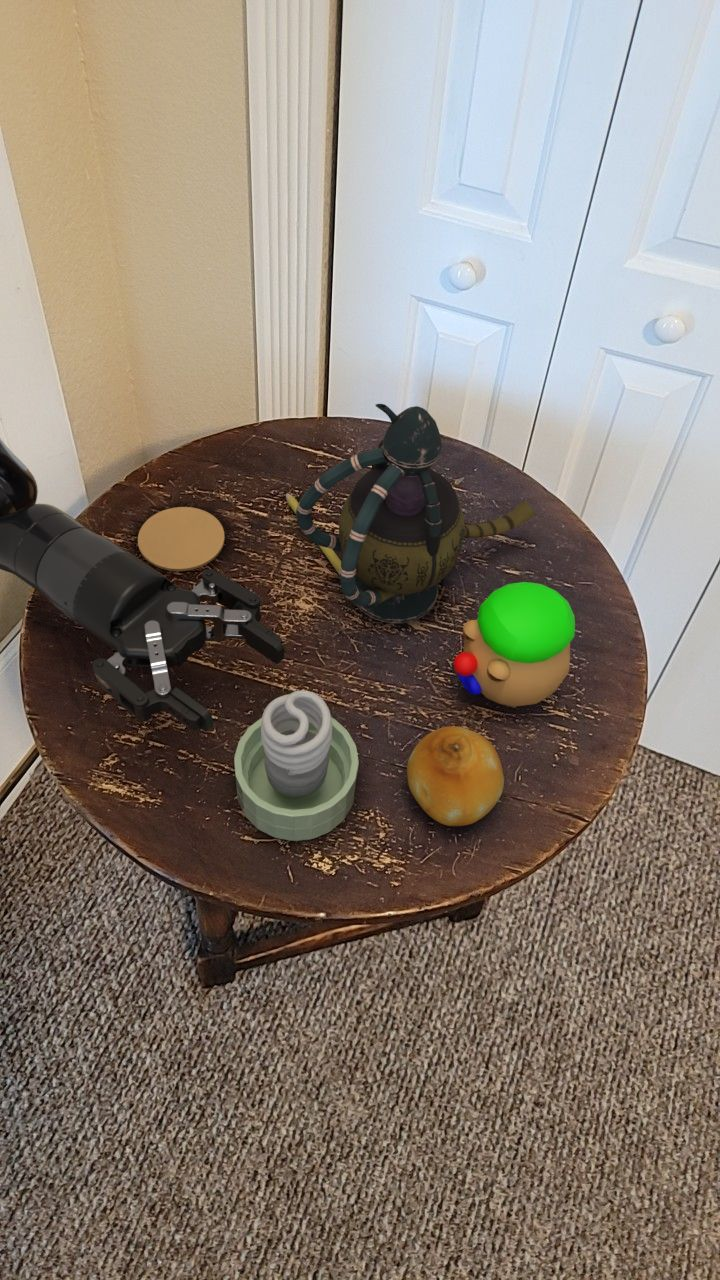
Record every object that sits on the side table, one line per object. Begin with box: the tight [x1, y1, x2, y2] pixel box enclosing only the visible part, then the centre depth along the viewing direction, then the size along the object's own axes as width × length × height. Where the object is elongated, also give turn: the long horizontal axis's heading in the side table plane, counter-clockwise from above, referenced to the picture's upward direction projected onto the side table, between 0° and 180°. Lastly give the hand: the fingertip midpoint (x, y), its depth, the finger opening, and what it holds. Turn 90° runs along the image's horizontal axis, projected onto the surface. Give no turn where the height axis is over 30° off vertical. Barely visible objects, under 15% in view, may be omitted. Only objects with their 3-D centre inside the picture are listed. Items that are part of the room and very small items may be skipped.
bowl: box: [233, 716, 360, 842], centre depth 79 cm, size 10×10×5 cm
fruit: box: [406, 725, 505, 827], centre depth 79 cm, size 8×8×8 cm
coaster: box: [137, 506, 226, 572], centre depth 98 cm, size 9×9×1 cm
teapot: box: [295, 403, 538, 624], centre depth 87 cm, size 12×25×23 cm, turn 118°
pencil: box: [284, 490, 342, 576], centre depth 99 cm, size 1×14×1 cm, turn 30°
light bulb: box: [261, 689, 332, 798], centre depth 75 cm, size 6×6×12 cm
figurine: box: [453, 581, 576, 708], centre depth 84 cm, size 11×10×12 cm
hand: (246, 688), depth 74 cm, fingers open, 8 cm apart
